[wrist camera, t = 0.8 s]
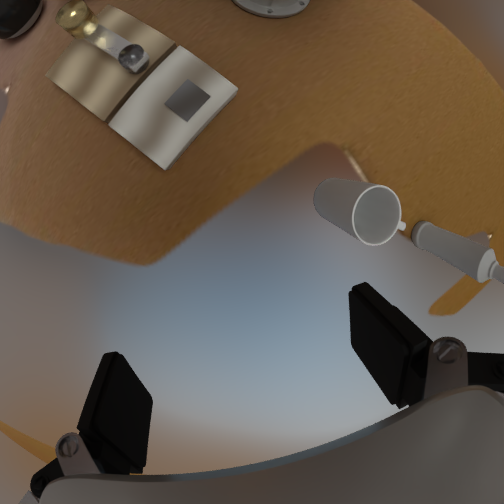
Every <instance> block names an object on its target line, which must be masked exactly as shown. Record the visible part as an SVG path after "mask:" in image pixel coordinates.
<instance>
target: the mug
mask: <svg viewBox="0 0 504 504" xmlns="http://www.w3.org/2000/svg"><path fill="white" fill-rule="evenodd" d="M314 206H315V208H316V210H317V212H318V213H319V214H320V215H321V216H322V217H323V218H325V219H326V220H328V221H329V222H331V223H333V224H334V225H336V226H338V227H339V228H341V229H342V230H344V231H345V232H347V233H349V234H350V235H352V236H353V237H355V238H356V239H358V240H360V241H361V242H363V243H365V244H367V245H371V246H377V245H381V244H383V243H385V242H387V241H388V240H389V239H390V238H391V237H392V236H393V235H394V234H395V232H396V231H397V229H400V230H402V231H403V230H404V229H405V227H406V224H405V223H404V222H402V221H400V220H401V206H400V202H399V199H398V197H397V195H396V194H395V193H394V192H393V191H392V190H391V189H390V188H388V187H386V186H383V185H378V184H373V183H367V182H361V181H354V180H348V179H341V178H329V179H326V180H324V181H323V182H321V183H320V184H319V186H318V187H317V188H316V191H315V194H314Z"/></svg>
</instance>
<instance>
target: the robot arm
mask: <svg viewBox="0 0 504 504" xmlns="http://www.w3.org/2000/svg"><path fill="white" fill-rule="evenodd" d="M232 1H233V2H234V3H235V4H236V5H238V6H239V7H240V8H242V9H244V10H245V11H247V12H250V13H252V14H255V15H259V16H262V17H269V18H284V17H290V16H293V15H296V14H298V13H300V12H301V11H302V10H304V8H305V7H306V6H307V5H308V3H309V1H310V0H232ZM349 310H350V331H351V345H352V347H353V349H354V351H355V352H356V353H357V355H358V357H359V358H360V359H361V361H362V362H363V364H364V365H365V367H366V368H367V369H368V371H369V373H370V374H371V375H372V377H373V378H374V380H375V381H376V383H377V384H378V386H379V387H380V388H381V390H382V392H383V393H384V395H385V396H386V398H387V399H388V401H389V402H390V403H391V404H392V405H393V404H396V406H397V407H398V408H399V409H401V408H403V407H405V406H406V405H409V407H408V408H406V409H404V410H402V411H400V412H398V413H396V414H394V415H392V416H390V417H388V418H386V419H384V420H382V421H380V422H377V423H375V424H373V425H371V426H368V427H366V428H364V429H362V430H359V431H357V432H354V433H352V434H350V435H347V436H345V437H342V438H339V439H337V440H334V441H331V442H329V443H326V444H323V445H320V446H317V447H314V448H311V449H308V450H305V451H302V452H298V453H295V454H291V455H288V456H284V457H280V458H276V459H273V460H269V461H264V462H260V463H255V464H250V465H245V466H240V467H234V468H228V469H221V470H215V471H206V472H197V473H186V474H169V475H130V473H133V474H142V473H143V467H145V465H146V458H147V447H148V438H149V429H150V420H151V413H152V405H153V400H152V397H151V395H150V393H149V392H148V391H147V389H146V388H145V387H144V385H143V384H142V383H141V381H140V380H139V378H138V377H137V375H136V374H135V372H134V371H133V370H132V368H131V367H130V365H129V363H128V362H127V360H126V359H125V358H124V356H123V355H122V354H119V353H118V352H110V353H105V354H104V355H103V357H102V359H101V362H100V364H99V367H98V369H97V372H96V375H95V377H94V380H93V382H92V385H91V388H90V390H89V393H88V396H87V399H86V401H85V404H84V407H83V410H82V413H81V416H80V419H79V422H78V425H77V429H78V430H79V431H80V432H79V435H78V434H77V433H73V432H71V433H67V434H65V435H63V436H62V437H61V438H60V439H59V440H58V442H57V444H56V449H55V451H56V456H57V458H55V459H54V460H53V461H51V462H50V463H49V464H47V465H46V466H45V467H44V468H42V469H41V470H39V471H38V472H37V473H36V474H34V475H33V477H32V479H31V483H30V487H31V491H32V492H30V491H28V492H27V493H26V494H25V496H24V497H23V499H22V500H21V501H20V503H19V504H504V354H498V353H479V352H467V349H466V346H465V345H464V343H463V342H462V341H460V340H459V339H456V338H454V337H441V338H439V339H437V340H435V341H434V342H433V341H432V340H431V339H430V338H429V337H428V336H426V334H425V333H424V332H423V331H421V329H419V328H418V327H417V326H416V325H415V324H414V323H413V322H412V321H411V320H410V319H409V318H408V317H407V316H406V315H404V314H403V313H402V312H401V311H400V310H399V309H398V308H397V307H395V306H393V305H391V304H390V303H389V302H388V301H387V300H386V299H385V298H384V297H383V296H381V295H380V294H379V293H378V292H377V291H376V290H375V289H374V288H373V287H371V286H370V285H369V284H368V283H367V282H364V283H361V284H358V285H355V286H353V287H352V291H350V292H349Z"/></svg>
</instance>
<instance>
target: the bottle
mask: <svg viewBox="0 0 504 504" xmlns="http://www.w3.org/2000/svg"><path fill="white" fill-rule="evenodd" d="M411 237H412V242H413V243H414V245H415V246H416V247H418V248H420V249H422V250H427V251H428V252H430V253H432V254H434V255H435V256H437V257H439V258H441V259H442V260H444V261H446V262H447V263H449V264H451V265H453V266H454V267H456V268H458V269H459V270H461V271H462V272H464V273H466V274H467V275H469V276H471V277H472V278H474V279H475V280H477V281H478V282H480V283H482V282H485V281H486V280H488V279H493V278H495V279H497V280H498V281H500V282H502V283H503V284H504V267H502V266H500V265H499V263H498V261H496V257H495V253H494V251H493V249H491V248H489V247H486V246H484V245H482V244H479V243H477V242H475V241H472V240H470V239H467V238H465V237H462V236H460V235H457V234H455V233H452V232H450V231H447V230H445V229H442V228H439V227H437V226H434V225H433V224H432V223H430V222H427V221H420V222H418V223H417V224H416V225H415V226H414V228H413V230H412V236H411Z"/></svg>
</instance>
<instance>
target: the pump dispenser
mask: <svg viewBox="0 0 504 504" xmlns="http://www.w3.org/2000/svg"><path fill="white" fill-rule="evenodd" d="M41 9H42V0H0V39H7V38H14V37H17V36H19V35H21V34H22V33H24V32H25V31H27V30H28V29H29V28H30V27H31V26H32V25H33V24H34V22H35V21H36V20H37V18H38V16H39V14H40V12H41Z"/></svg>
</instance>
